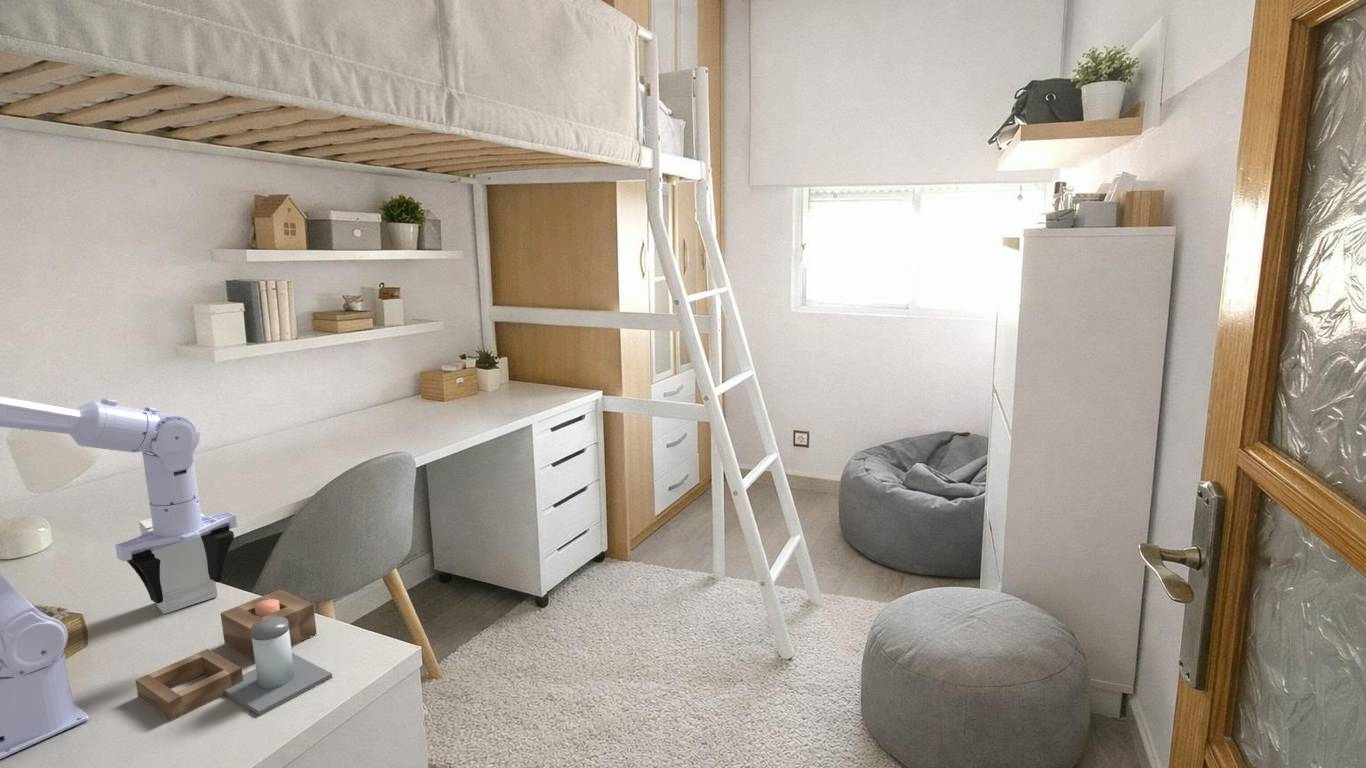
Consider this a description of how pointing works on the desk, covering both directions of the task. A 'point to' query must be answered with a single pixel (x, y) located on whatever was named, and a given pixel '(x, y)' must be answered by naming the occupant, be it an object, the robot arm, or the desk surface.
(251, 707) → the pad
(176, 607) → the skincare box
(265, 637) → the cylinder
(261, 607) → the plunger
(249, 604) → the plunger housing
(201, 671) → the sleeve
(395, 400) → the desk surface
